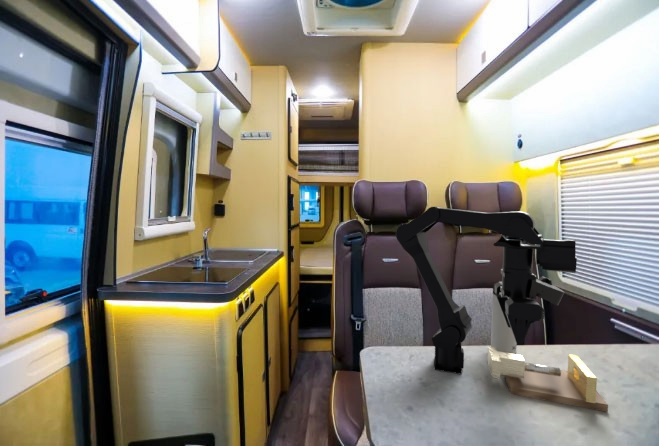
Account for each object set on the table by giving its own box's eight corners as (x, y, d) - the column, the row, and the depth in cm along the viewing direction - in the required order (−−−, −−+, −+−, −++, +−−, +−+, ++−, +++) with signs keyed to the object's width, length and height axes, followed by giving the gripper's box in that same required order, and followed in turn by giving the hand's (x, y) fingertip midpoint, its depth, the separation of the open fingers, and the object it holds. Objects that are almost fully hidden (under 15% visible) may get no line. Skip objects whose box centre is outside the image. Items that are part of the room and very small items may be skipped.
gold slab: (585, 401, 62) (587, 376, 62) (567, 376, 71) (568, 354, 71) (595, 403, 62) (596, 378, 61) (575, 377, 71) (576, 355, 70)
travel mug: (521, 359, 82) (524, 286, 81) (494, 357, 83) (497, 285, 82) (512, 348, 88) (514, 280, 87) (487, 346, 89) (489, 279, 88)
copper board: (511, 393, 67) (511, 387, 67) (501, 366, 78) (501, 360, 78) (607, 411, 61) (608, 404, 61) (582, 379, 73) (582, 373, 72)
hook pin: (491, 377, 69) (492, 360, 69) (487, 362, 76) (488, 346, 76) (564, 389, 65) (565, 371, 64) (553, 372, 71) (554, 355, 71)
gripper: (578, 280, 57) (574, 361, 58) (546, 262, 74) (543, 324, 75) (510, 275, 61) (507, 351, 62) (495, 259, 78) (493, 318, 79)
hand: (514, 335), depth 69 cm, fingers open, 9 cm apart
